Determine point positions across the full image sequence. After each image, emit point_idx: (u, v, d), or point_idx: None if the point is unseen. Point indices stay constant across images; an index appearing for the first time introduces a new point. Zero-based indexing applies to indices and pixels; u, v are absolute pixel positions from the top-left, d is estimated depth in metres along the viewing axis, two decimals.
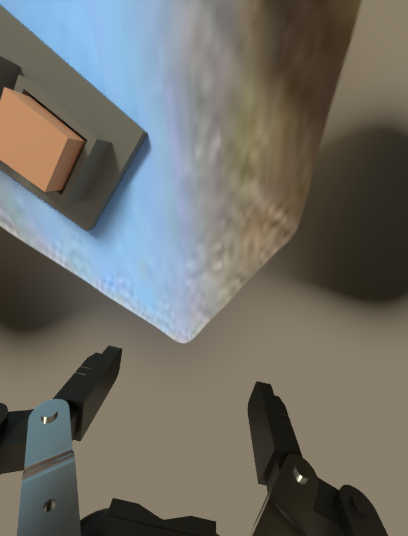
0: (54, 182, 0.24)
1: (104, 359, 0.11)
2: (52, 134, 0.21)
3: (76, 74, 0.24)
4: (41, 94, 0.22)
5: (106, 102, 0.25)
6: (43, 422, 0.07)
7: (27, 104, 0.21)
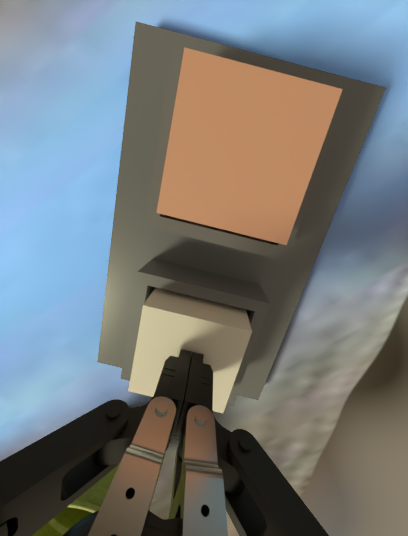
0: None
1: (183, 361, 0.12)
2: (194, 92, 0.09)
3: (120, 176, 0.16)
4: (152, 183, 0.12)
5: (129, 115, 0.15)
6: (160, 417, 0.09)
7: None
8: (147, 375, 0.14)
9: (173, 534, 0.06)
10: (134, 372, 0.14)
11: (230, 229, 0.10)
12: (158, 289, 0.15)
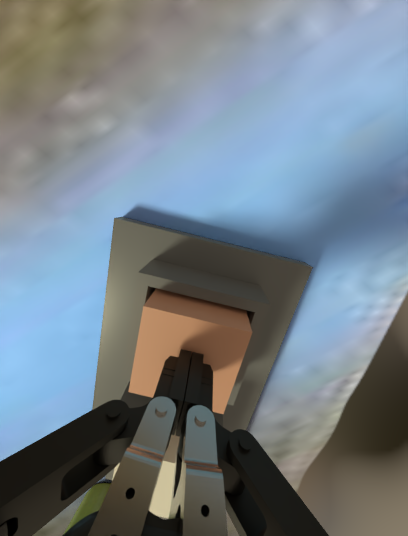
0: (231, 319, 0.13)
1: (183, 361, 0.12)
2: (151, 329, 0.13)
3: (104, 317, 0.19)
4: (126, 352, 0.16)
5: (111, 277, 0.18)
6: (160, 417, 0.09)
7: None
8: None
9: (173, 534, 0.06)
10: None
11: None
12: None
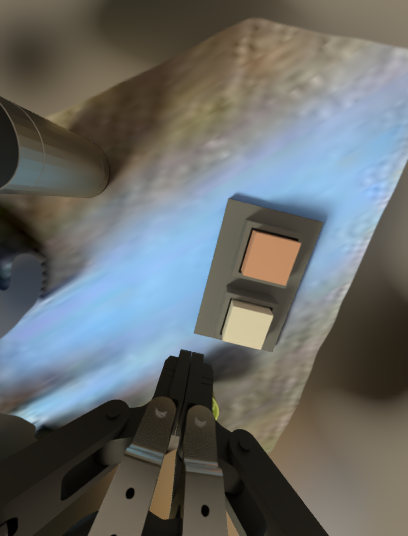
0: (290, 240, 0.31)
1: (183, 361, 0.12)
2: (258, 243, 0.31)
3: (215, 251, 0.37)
4: (236, 261, 0.34)
5: (222, 229, 0.36)
6: (160, 417, 0.09)
7: (246, 261, 0.32)
8: (231, 333, 0.35)
9: (173, 534, 0.06)
10: (226, 332, 0.35)
11: (267, 280, 0.32)
12: (233, 299, 0.36)
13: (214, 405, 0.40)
